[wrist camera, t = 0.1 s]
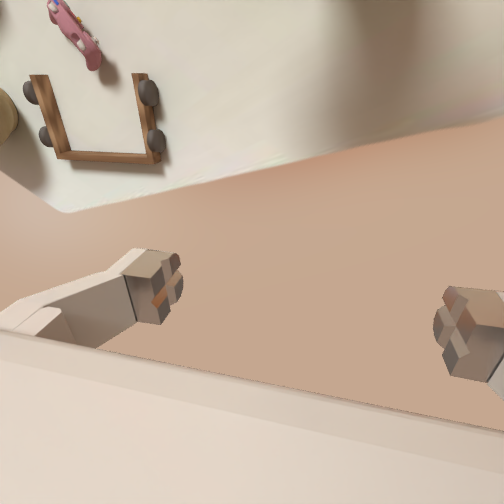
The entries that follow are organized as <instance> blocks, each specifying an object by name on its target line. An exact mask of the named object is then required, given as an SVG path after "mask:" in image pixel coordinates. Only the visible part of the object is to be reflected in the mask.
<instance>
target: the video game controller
mask: <svg viewBox="0 0 504 504" xmlns="http://www.w3.org/2000/svg"><path fill="white" fill-rule="evenodd" d="M47 8H48V10H49V17H50V20H51V21H52V23H53V24H56V25H58V26H59V28H60V30H61V31H62V33H63V34H64V35H65V36H66V37H67V38H69V39H70V40H71V41H72V42H73V43H74V45H75V46H76V47H77V48H78V50H79V51H80V52H81V53H82V54H83V55H84V57H85V59H86V65H87V68H88V69H89V70H90V71H95V70H97V69H98V68H99V67H100V65H101V60H102V59H101V51H100V50H99V48H98V45H97V43H98V44H99V41H98V40H97V38H96V37H94V36H93V37H94V39H93V38H92V37H90V36H89V34H88V33H87V32H85V31H84V32H83V31H82V29H83V28H84V27H83V25H82V24H81V19H80V18H79V17H77V18H76V16H75V15H74V14H73V13H72V11H71V10H70V8H69V6H68V5H67V4H66V2H65V1H64V0H48V2H47Z"/></svg>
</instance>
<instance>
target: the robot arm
mask: <svg viewBox="0 0 504 504" xmlns="http://www.w3.org/2000/svg"><path fill="white" fill-rule="evenodd" d="M180 265H181V263H180V258H179V255H177V254H176V253H171V252H164V251H157V250H149V249H143V248H142V249H141V248H133V249H132V250H130V251H129V252H128V253H127V254H126V255H125V256H123V257H122V258H121V259H120V260H118V261H117V262H116V263H115V264H114V265H112V266H111V267H110V268H109V269H108V270H106V271H105V272H98V273H96V274H92V275H89V276H86V277H83V278H81V279H78V280H75V281H72V282H69V283H66V284H63V285H61V286H58V287H54V288H52V289H49V290H46V291H43V292H40V293H37V294H34V295H31V296H28V297H25V298H23V299H20V300H18V301H16V302H15V303H13V304H12V305H11V306H9V307H8V308H6V309H5V310H3V311H2V312H0V504H504V431H501V430H496V429H491V428H486V427H481V426H476V425H471V424H466V423H461V422H456V421H451V420H446V419H442V418H437V417H431V416H427V415H422V414H417V413H412V412H407V411H402V410H398V409H393V408H388V407H383V406H378V405H373V404H368V403H363V402H358V401H353V400H348V399H343V398H339V397H333V396H329V395H324V394H319V393H313V392H309V391H304V390H299V389H294V388H289V387H284V386H279V385H274V384H269V383H264V382H259V381H254V380H249V379H244V378H239V377H234V376H230V375H225V374H220V373H215V372H210V371H205V370H199V369H195V368H190V367H184V366H180V365H174V364H170V363H165V362H160V361H155V360H150V359H145V358H140V357H135V356H130V355H125V354H121V353H116V352H111V351H106V350H100V349H96V348H97V347H99V346H100V345H102V344H104V343H105V342H107V341H108V340H110V339H112V338H113V337H115V336H116V335H118V334H119V333H121V332H123V331H124V330H126V329H127V328H129V327H131V326H132V325H134V324H135V323H136V322H143V323H150V324H157V325H161V324H162V323H163V321H164V320H165V318H166V317H167V315H168V314H169V312H170V305H172V304H174V303H176V302H177V301H178V300H179V298H180V297H181V293H182V290H183V276H182V275H181V273H180V272H179V271H178V270H177V269H178V268H179V266H180ZM442 298H443V300H444V302H445V305H444V306H443V307H441V308H440V309H438V310H437V312H436V315H435V318H434V324H433V330H434V336H435V339H436V341H437V343H438V344H439V345H440V346H442V347H443V348H444V349H445V350H444V352H443V354H442V356H443V359H444V361H445V364H446V366H447V369H448V371H449V374H450V375H451V376H455V377H460V378H465V379H470V380H475V381H480V382H485V383H488V384H487V385H488V386H489V387H490V388H491V389H493V391H494V392H495V393H496V394H497V395H498V396H499V397H500V398H501V399H503V400H504V291H495V290H482V289H472V288H462V287H452V286H449V287H448V288H447V289H446V290H445V293H444V295H443V297H442Z"/></svg>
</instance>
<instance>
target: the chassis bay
mask: <svg viewBox="0 0 504 504" xmlns="http://www.w3.org/2000/svg"><path fill="white" fill-rule="evenodd" d="M29 76H30V79H31V81H27V82H25V83H24V85H23V92H24V95H25V97H26V99H27V100H28V101H29V102H30V103H32V104H35V105H39V106H40V109H41V112H42V115H43V118H44V121H45V124H46V126H44V127H42V128H41V129H40V131H39V138H40V140H41V142H42V143H43V144H44V145H45V146H47V147H54V150H55V153H56V156H57V159H65V160H83V161H101V162H120V163H138V164H156V163H158V162H160V161H161V156H160V152H163V151H164V149H165V136H164V134H163V132H162V131H161V130H156V125H155V119H154V112H153V106H156V105H157V103H158V99H159V95H158V89H157V86H156V84H155V83H154V82H153V81H152V80H148V75H147V74H144V73H132V78H133V84H134V89H135V95H136V100H137V106H138V111H139V116H140V122H141V127H142V133H143V138H144V144H145V149H146V154H134V153H113V152H92V151H71V149H70V145H69V142H68V139H67V136H66V132H65V129H64V126H63V123H62V119H61V116H60V113H59V110H58V106H57V103H56V100H55V97H54V93H53V90H52V87H51V84H50V81H49V77H48V75H29Z"/></svg>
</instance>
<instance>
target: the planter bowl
mask: <svg viewBox="0 0 504 504" xmlns="http://www.w3.org/2000/svg"><path fill="white" fill-rule="evenodd" d="M17 124H18V115H17V111H16V108H15V106H14V104H13V102H12V100H11V99H10V97H9V96H8V95H7V94H6V93H5V92H4V91H3V90H2V89H1V88H0V146H1V145H2V144H3V143H4V142H5V141H6V139H7V138H8V137H9V135H10V133H11V132H12V131H13V130H15V128H16V127H17Z"/></svg>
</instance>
